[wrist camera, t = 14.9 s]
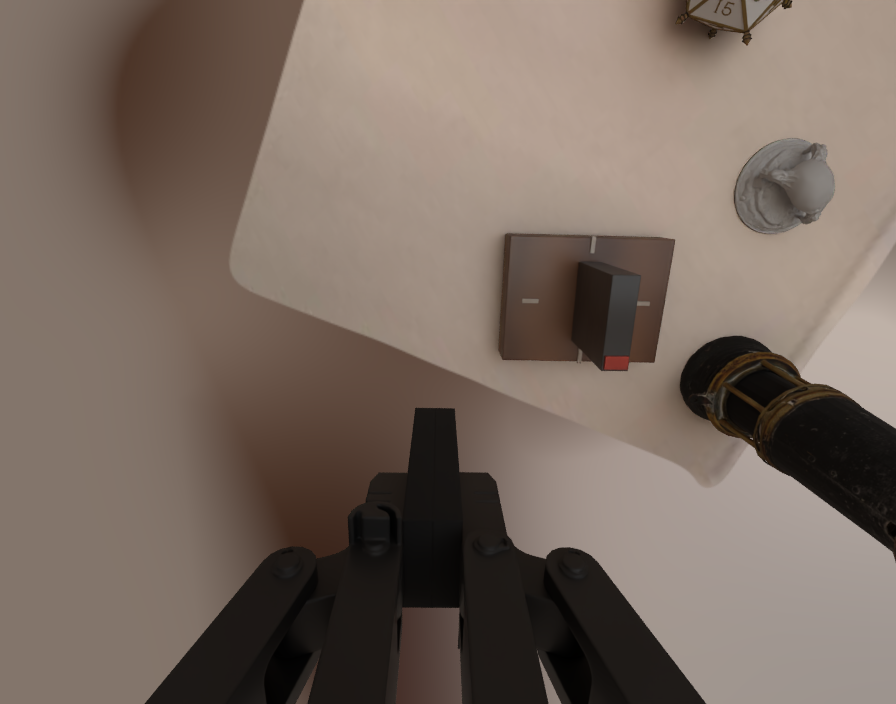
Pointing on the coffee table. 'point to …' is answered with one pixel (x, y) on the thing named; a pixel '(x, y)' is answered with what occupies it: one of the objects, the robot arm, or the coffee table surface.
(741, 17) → the game die
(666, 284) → the block
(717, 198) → the coffee table surface
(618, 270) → the dark grey block
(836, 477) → the lantern
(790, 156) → the miniature
